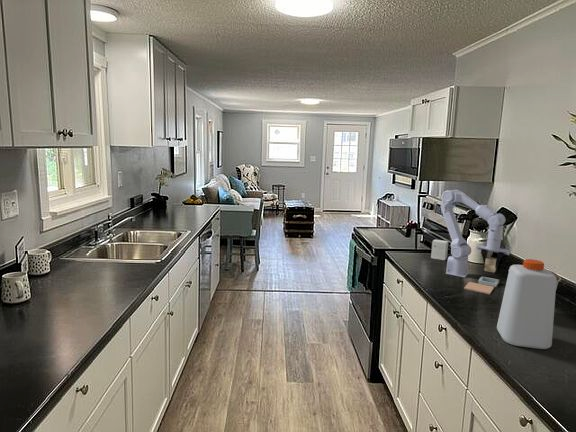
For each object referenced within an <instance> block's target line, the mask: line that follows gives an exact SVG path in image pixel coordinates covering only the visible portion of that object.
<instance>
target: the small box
mask: <svg viewBox="0 0 576 432" xmlns="http://www.w3.org/2000/svg"><path fill="white" fill-rule="evenodd" d="M431 242H432V243H431V253H430V254H431V256H430V258H431V259H435V260H441V261H446V260H447V259H448V249H449V248H448V247H449V241H448V240H442V239H433V240H432V241H431Z"/></svg>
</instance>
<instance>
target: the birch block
mask: <svg viewBox="0 0 576 432" xmlns="http://www.w3.org/2000/svg"><path fill="white" fill-rule="evenodd" d="M496 261H497V257H491V256H487V258H486V260H485V266H484V269H483V270H484V271H485V272H490V273H495V272H496V271H497V268H495V266H496Z"/></svg>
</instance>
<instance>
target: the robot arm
mask: <svg viewBox="0 0 576 432" xmlns="http://www.w3.org/2000/svg"><path fill="white" fill-rule="evenodd" d="M440 200H441V203H440V210H441V213H442V216H443V218H444V222H445V224H446V228H447V231H448V234H449V236H450V239H451V243H450V248H451V249H450V254H451V255H449V256H447V263H446V269H445V271H446V272H445V274H446V275H449V276H455V277H461V278H466V277H467V276H468V275H469V273H468V272H467V270H468V263H469V256H470V255H471V254H472V248H471V246H470V245H469V243H468V241H467V240H466V239H465V238H464V237H463V235H462V232H461V229H460V226H459V223H458V221H457V218H456V215H455V212H454V208H455V206H456V205H457V204H458V203H462V204H463V205H465V206H467V207H469V208H471V209H472V210H474V212H475V214H476V215H477V216H478V217H480V218H481V219H482V220H484V221H486V222H487V224H488V225H489V226H488V231H487V232H488V234H487V240H486V245H481V244H476V248H475V250H479V251H480V255H481V257H482V260H483V266H484V267H485V260H486V258H487V257H488V253H489V252H493V253H496V258H497V261H496V266H495V268H496V269H497V268H498V266H499V263H500V262H501V260H502V257H504V255H507V256H510V253H511V250H510V249H506V248H503V247H502V248H501V242H502V234H503V227H504V224H506V216H505V215H504V214H503V213H497V211H496V210H494V209H491V207H489V205H487V204H479V203H478V202H476V201H475V200H474V199H472V198H471V197H470V196H468V195H467V194H465V192H463V191H461V190H459V189H452V190H451V189H448V190H445V191H443V192H442V194H441V196H440Z"/></svg>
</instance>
